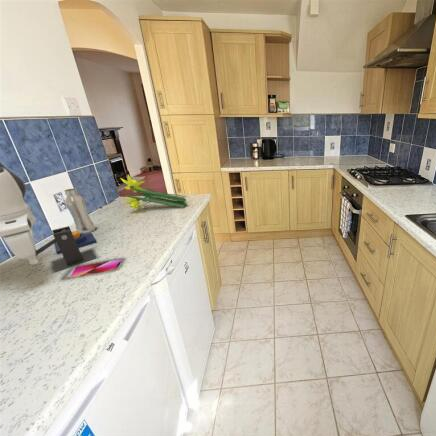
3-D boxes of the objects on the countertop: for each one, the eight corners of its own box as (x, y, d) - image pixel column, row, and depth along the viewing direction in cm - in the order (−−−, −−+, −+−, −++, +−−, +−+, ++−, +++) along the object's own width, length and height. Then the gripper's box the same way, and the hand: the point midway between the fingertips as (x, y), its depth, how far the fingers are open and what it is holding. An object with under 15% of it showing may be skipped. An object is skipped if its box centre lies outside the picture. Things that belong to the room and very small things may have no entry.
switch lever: (32, 263, 76) (25, 258, 75) (32, 257, 79) (25, 252, 78) (71, 236, 81) (65, 231, 80) (69, 232, 85) (63, 227, 83)
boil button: (67, 242, 93) (64, 237, 92) (65, 238, 96) (63, 233, 95) (81, 237, 96) (79, 233, 95) (79, 234, 98) (78, 230, 98)
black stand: (56, 274, 80) (39, 240, 74) (54, 264, 85) (38, 231, 80) (97, 260, 87) (84, 228, 82) (92, 251, 92) (80, 221, 87)
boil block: (58, 256, 90) (54, 247, 88) (56, 247, 96) (52, 238, 95) (97, 244, 98) (94, 235, 96) (93, 237, 104) (89, 228, 103)
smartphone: (73, 266, 82) (123, 258, 86) (75, 269, 82) (124, 260, 86) (62, 279, 75) (116, 269, 79) (63, 282, 76) (117, 272, 79)
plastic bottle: (87, 236, 105) (69, 192, 97) (74, 235, 106) (55, 191, 98) (100, 230, 110) (84, 187, 102) (87, 229, 111) (70, 187, 103)
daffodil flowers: (179, 215, 127) (105, 202, 120) (185, 219, 141) (119, 207, 134) (186, 184, 130) (114, 170, 123) (191, 191, 144) (127, 179, 138)
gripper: (0, 215, 77) (21, 252, 83) (-6, 234, 64) (20, 276, 69) (27, 209, 81) (46, 245, 87) (28, 226, 68) (49, 267, 74)
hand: (34, 259), depth 78 cm, fingers closed on switch lever, 5 cm apart
